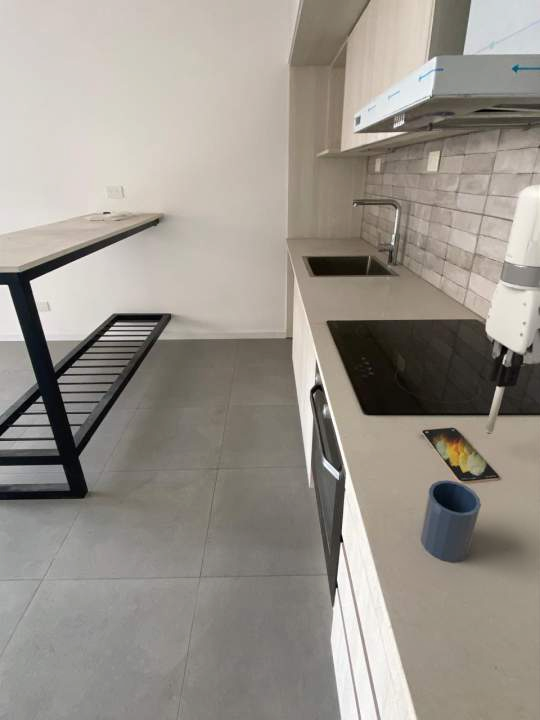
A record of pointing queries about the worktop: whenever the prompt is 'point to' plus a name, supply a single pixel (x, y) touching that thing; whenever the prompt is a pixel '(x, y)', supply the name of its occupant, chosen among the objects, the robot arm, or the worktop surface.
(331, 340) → the worktop surface
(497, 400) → the stylus
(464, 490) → the pen pot
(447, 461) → the smartphone
